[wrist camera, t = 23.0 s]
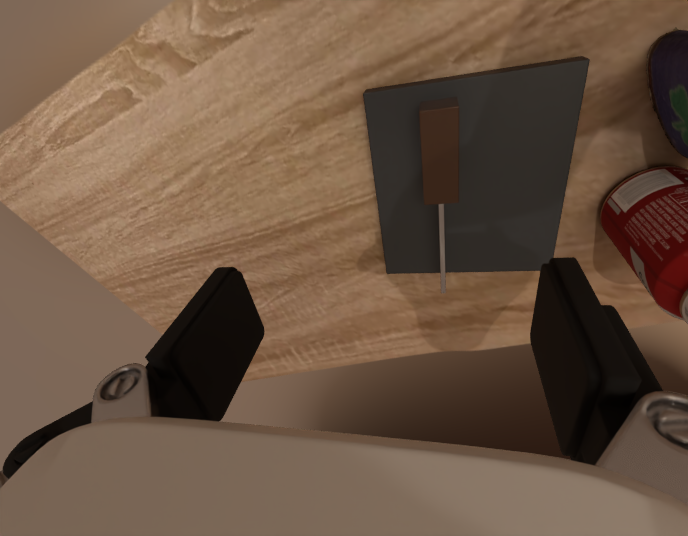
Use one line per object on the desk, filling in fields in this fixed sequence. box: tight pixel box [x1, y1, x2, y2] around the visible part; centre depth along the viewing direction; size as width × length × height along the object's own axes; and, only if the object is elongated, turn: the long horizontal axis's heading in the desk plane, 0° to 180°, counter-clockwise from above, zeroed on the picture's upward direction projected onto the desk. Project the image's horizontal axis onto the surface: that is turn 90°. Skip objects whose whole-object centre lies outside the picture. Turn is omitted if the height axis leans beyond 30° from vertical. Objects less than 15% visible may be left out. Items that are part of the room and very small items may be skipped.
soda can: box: [600, 166, 688, 324], centre depth 25 cm, size 7×7×12 cm
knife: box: [419, 97, 459, 293], centre depth 30 cm, size 16×3×3 cm, turn 10°
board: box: [363, 56, 590, 274], centre depth 31 cm, size 17×15×2 cm
